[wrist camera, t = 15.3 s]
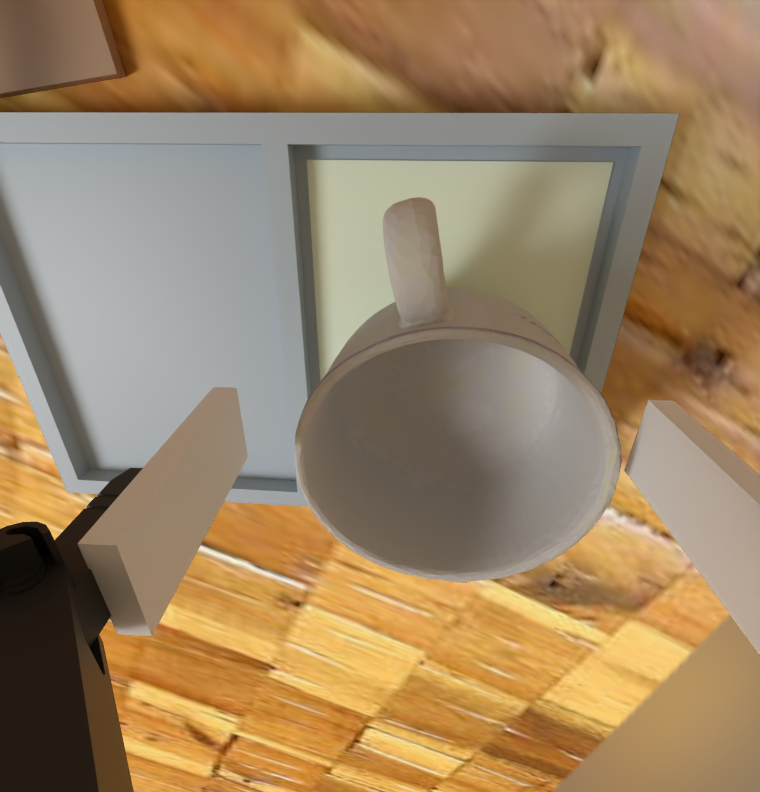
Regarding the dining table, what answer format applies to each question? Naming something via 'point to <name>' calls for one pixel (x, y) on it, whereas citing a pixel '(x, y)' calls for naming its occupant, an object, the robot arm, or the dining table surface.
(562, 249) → the grey divided tray
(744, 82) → the dining table surface
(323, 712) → the dining table surface
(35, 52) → the walnut coaster
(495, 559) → the teacup
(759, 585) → the robot arm
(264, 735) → the dining table surface
